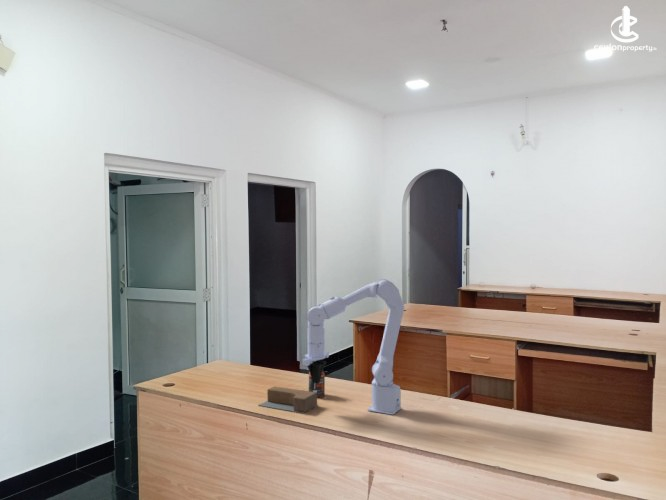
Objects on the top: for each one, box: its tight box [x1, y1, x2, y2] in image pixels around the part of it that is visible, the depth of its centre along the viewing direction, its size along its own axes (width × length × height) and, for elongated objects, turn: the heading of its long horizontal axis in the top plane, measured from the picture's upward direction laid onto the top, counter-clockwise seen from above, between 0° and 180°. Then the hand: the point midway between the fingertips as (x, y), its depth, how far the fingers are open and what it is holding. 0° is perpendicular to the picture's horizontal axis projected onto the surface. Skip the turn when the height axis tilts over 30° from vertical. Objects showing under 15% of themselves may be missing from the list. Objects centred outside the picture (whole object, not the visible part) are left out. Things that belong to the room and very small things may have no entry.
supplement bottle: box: [308, 370, 326, 398], centre depth 193 cm, size 6×6×11 cm
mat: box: [258, 400, 318, 414], centre depth 181 cm, size 18×10×1 cm, turn 62°
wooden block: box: [266, 386, 318, 413], centre depth 180 cm, size 9×4×18 cm
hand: (316, 382), depth 175 cm, fingers closed
